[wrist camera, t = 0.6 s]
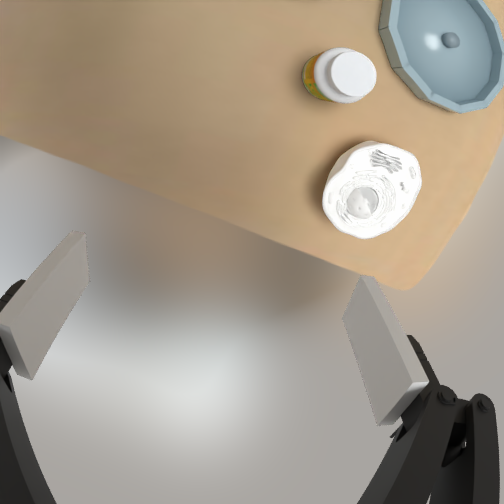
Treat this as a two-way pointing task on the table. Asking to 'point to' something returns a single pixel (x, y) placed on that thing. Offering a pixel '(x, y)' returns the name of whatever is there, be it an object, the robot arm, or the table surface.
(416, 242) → the table surface
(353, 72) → the supplement bottle
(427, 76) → the ring tray
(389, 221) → the cell model
